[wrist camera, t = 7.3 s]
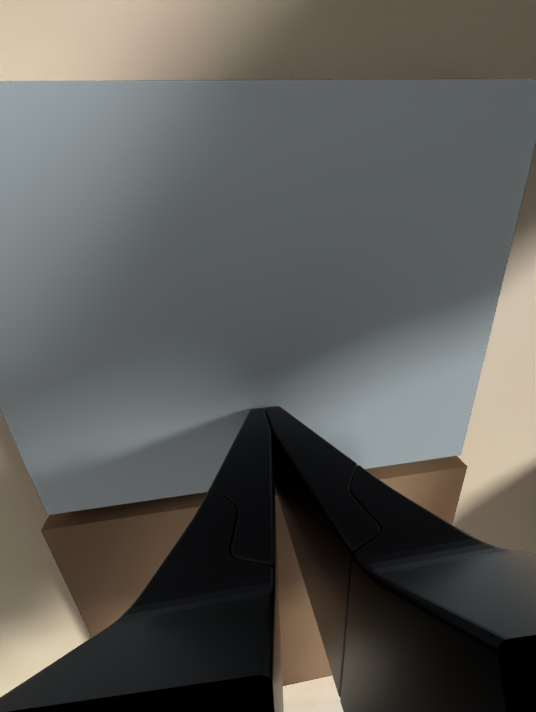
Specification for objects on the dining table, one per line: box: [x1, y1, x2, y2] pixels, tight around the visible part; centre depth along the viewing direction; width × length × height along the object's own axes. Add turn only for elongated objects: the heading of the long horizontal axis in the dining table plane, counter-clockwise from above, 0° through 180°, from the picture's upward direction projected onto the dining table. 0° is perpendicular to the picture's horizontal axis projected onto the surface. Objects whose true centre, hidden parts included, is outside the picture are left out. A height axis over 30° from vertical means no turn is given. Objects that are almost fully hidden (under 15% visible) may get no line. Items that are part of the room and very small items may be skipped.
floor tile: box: [0, 79, 536, 515], centre depth 9 cm, size 13×10×2 cm
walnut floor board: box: [41, 456, 467, 686], centre depth 13 cm, size 14×12×2 cm
